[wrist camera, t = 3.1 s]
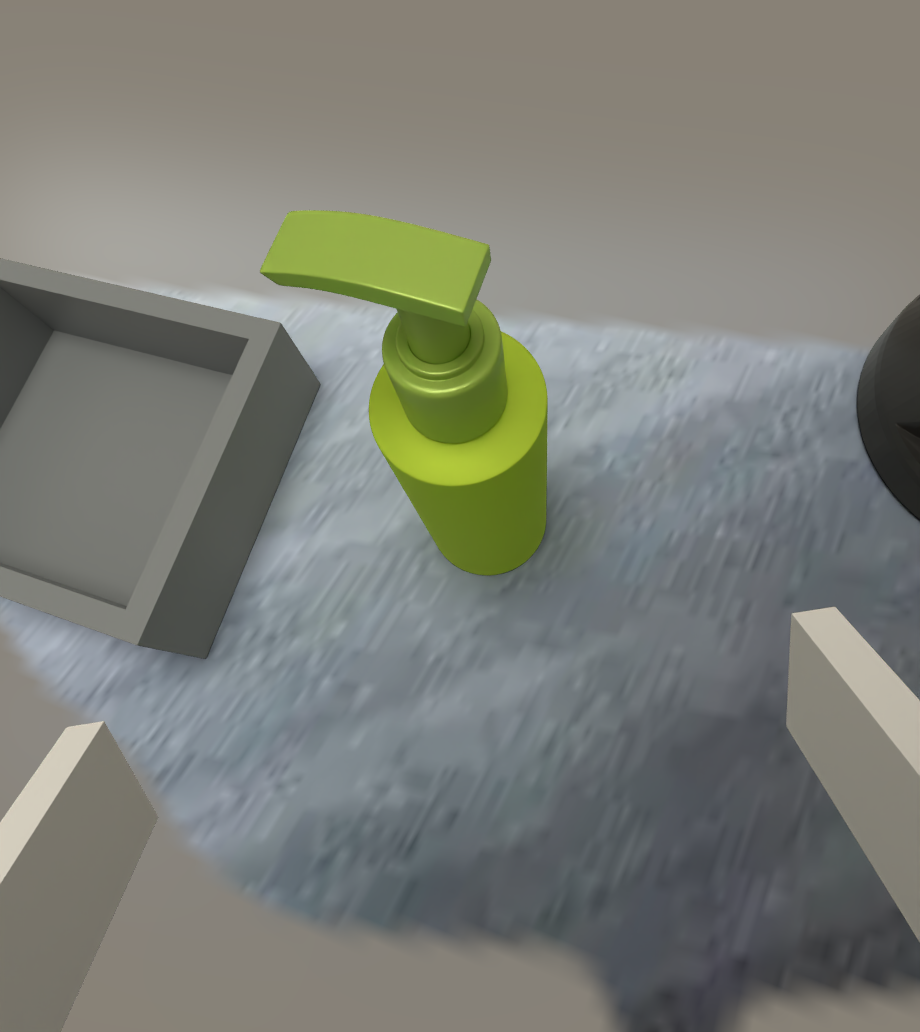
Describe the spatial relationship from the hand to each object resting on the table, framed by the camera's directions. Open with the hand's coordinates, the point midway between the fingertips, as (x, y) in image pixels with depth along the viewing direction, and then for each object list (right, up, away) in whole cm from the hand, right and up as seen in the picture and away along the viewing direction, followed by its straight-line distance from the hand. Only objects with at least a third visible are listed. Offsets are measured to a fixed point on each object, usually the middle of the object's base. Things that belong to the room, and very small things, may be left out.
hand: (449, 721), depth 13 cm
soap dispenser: (+1, +4, +21) cm, 22 cm away
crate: (-19, +7, +25) cm, 31 cm away
